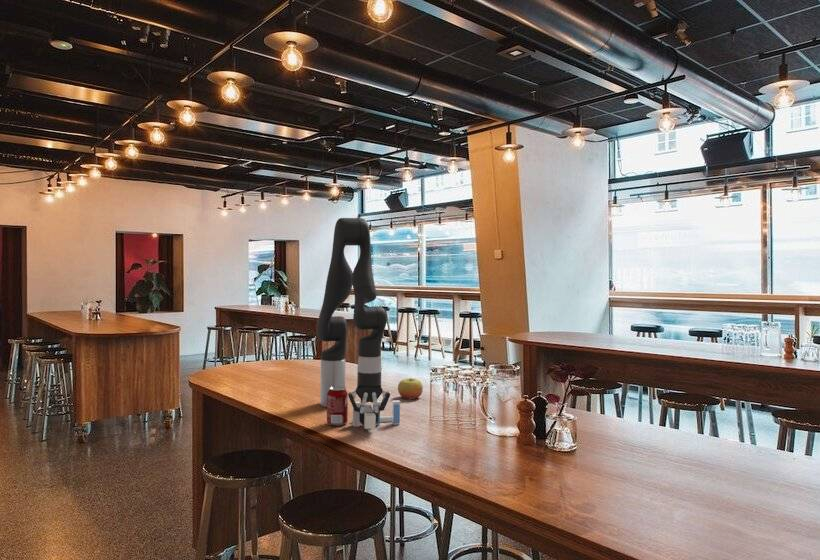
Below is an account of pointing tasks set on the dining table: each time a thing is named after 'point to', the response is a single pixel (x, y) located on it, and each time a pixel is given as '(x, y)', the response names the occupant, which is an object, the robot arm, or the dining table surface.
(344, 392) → the soda can
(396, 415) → the upright peg stand
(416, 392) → the apple
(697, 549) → the dining table surface
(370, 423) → the grey rectangular bar
